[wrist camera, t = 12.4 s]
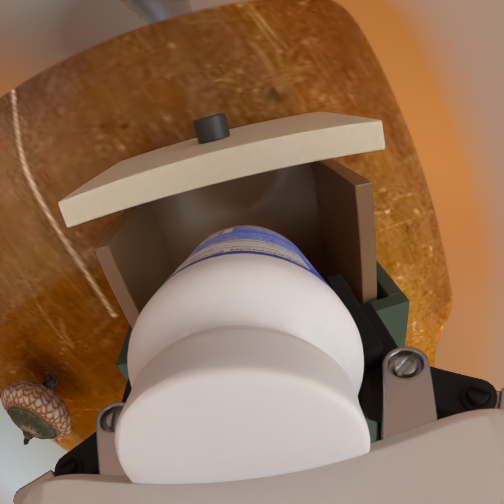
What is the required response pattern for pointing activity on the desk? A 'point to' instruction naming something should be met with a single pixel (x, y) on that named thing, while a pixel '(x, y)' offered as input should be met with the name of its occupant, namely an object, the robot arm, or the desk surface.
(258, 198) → the drawer
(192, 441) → the pill bottle
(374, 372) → the robot arm
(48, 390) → the acorn
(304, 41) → the desk surface
